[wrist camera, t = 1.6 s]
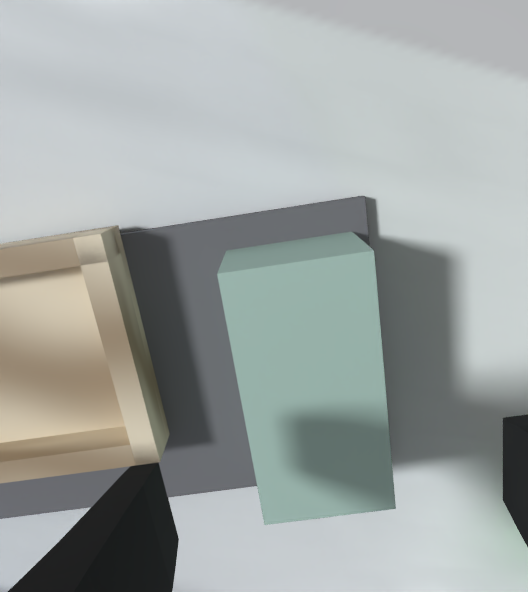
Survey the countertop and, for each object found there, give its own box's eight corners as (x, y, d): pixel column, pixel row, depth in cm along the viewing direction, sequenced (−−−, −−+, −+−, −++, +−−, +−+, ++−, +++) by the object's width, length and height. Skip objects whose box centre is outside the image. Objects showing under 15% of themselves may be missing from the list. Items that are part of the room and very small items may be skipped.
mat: (385, 462, 17) (388, 469, 17) (-117, 526, 18) (-125, 534, 18) (362, 195, 14) (365, 197, 14) (-234, 288, 15) (-248, 291, 15)
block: (372, 447, 17) (395, 508, 14) (264, 462, 17) (264, 525, 14) (351, 231, 14) (374, 250, 11) (226, 250, 14) (217, 273, 12)
